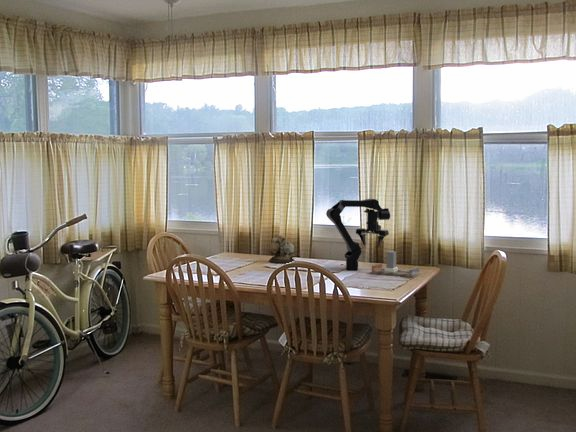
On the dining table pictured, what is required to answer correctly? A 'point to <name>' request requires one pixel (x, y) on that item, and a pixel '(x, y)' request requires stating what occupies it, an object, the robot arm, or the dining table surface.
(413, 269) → the track
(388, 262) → the carriage
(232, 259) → the dining table surface
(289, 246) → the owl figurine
